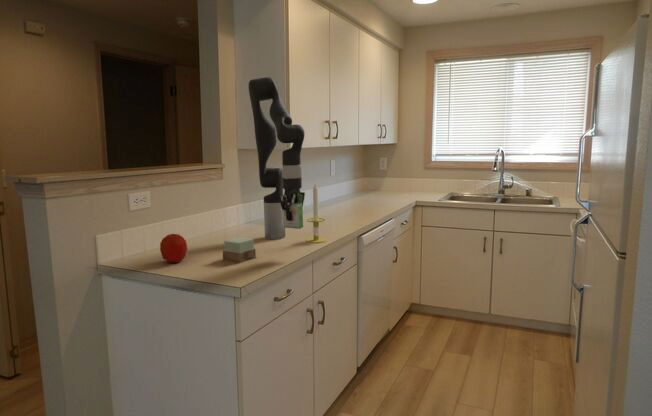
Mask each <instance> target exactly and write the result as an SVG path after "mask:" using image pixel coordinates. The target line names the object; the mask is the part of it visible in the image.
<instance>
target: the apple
mask: <svg viewBox="0 0 652 416" xmlns="http://www.w3.org/2000/svg"><path fill="white" fill-rule="evenodd" d="M159 245H160V246H159V251H160V253H161V256H162V259H163V260H164V261H166V262H168V263H170V264H172V263H180V262H182V261H183V260H184V259H185V258H186V256H187V252H188V244H187V240H186V239H185V237H183V236H182V235H180V234H177V233H171V234H167V235H166V236H164V237H163V238H162V239H161V241H160V244H159Z"/></svg>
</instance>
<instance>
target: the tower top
mask: <svg viewBox="0 0 652 416" xmlns="http://www.w3.org/2000/svg"><path fill="white" fill-rule="evenodd" d="M254 243H255V241H254V239H253V238H246V237H239V236H238V237H237V236H236V237H234V238H229V239H226V240H224V241H223V245H224V250H225V251H228V252H234V253H243V252H246V251H249V250H253V249H255V245H254Z"/></svg>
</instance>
